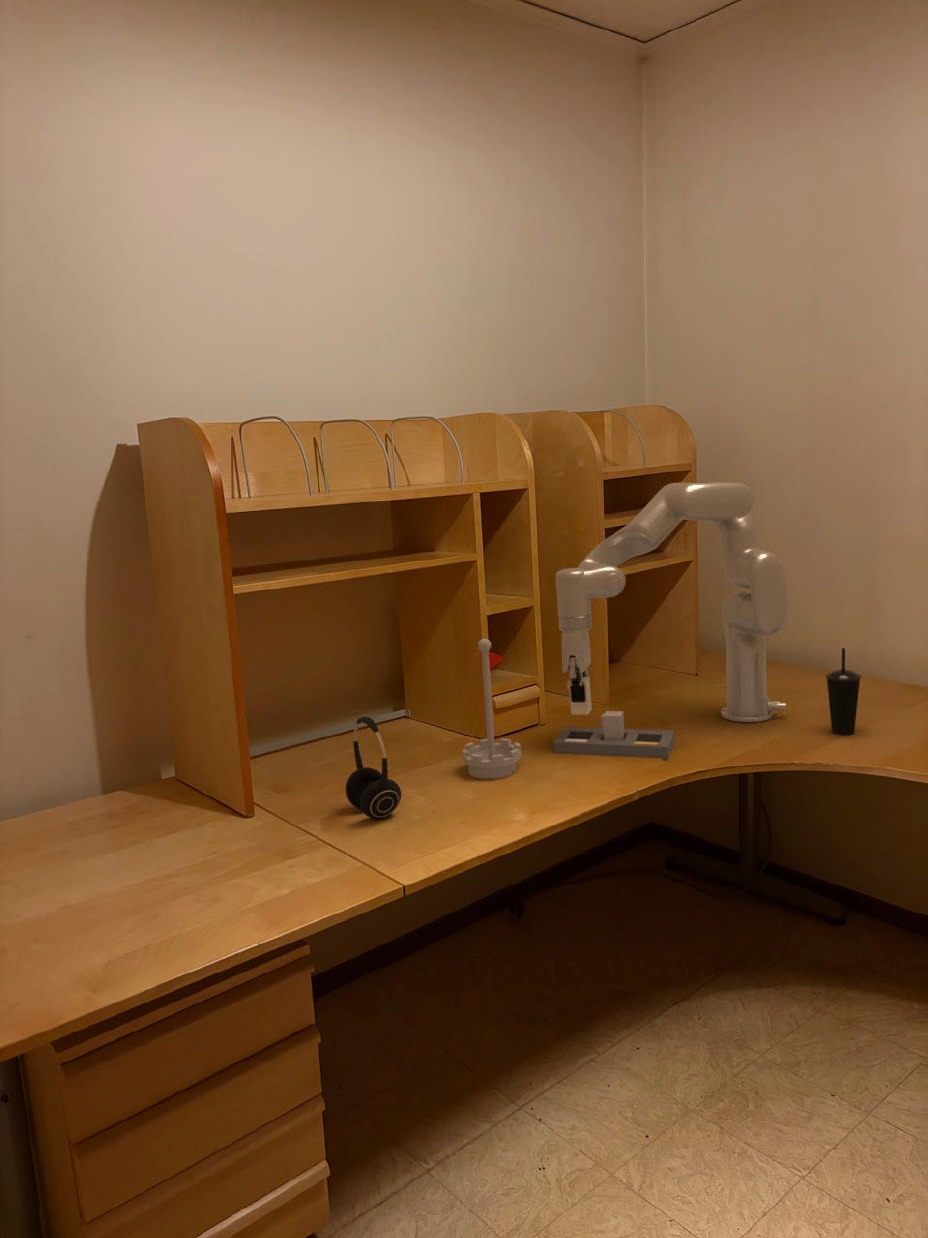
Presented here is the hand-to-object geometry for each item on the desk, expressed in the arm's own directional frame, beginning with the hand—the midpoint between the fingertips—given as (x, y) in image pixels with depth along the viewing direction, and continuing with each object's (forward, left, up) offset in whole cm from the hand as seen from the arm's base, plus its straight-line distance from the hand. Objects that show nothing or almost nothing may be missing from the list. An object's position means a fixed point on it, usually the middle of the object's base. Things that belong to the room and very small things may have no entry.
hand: (580, 698), depth 217 cm
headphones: (+32, +46, -12) cm, 58 cm away
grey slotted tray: (-8, 0, -12) cm, 14 cm away
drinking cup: (-58, -19, -12) cm, 62 cm away
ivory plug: (0, 0, -3) cm, 3 cm away
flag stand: (+16, +18, -12) cm, 28 cm away
